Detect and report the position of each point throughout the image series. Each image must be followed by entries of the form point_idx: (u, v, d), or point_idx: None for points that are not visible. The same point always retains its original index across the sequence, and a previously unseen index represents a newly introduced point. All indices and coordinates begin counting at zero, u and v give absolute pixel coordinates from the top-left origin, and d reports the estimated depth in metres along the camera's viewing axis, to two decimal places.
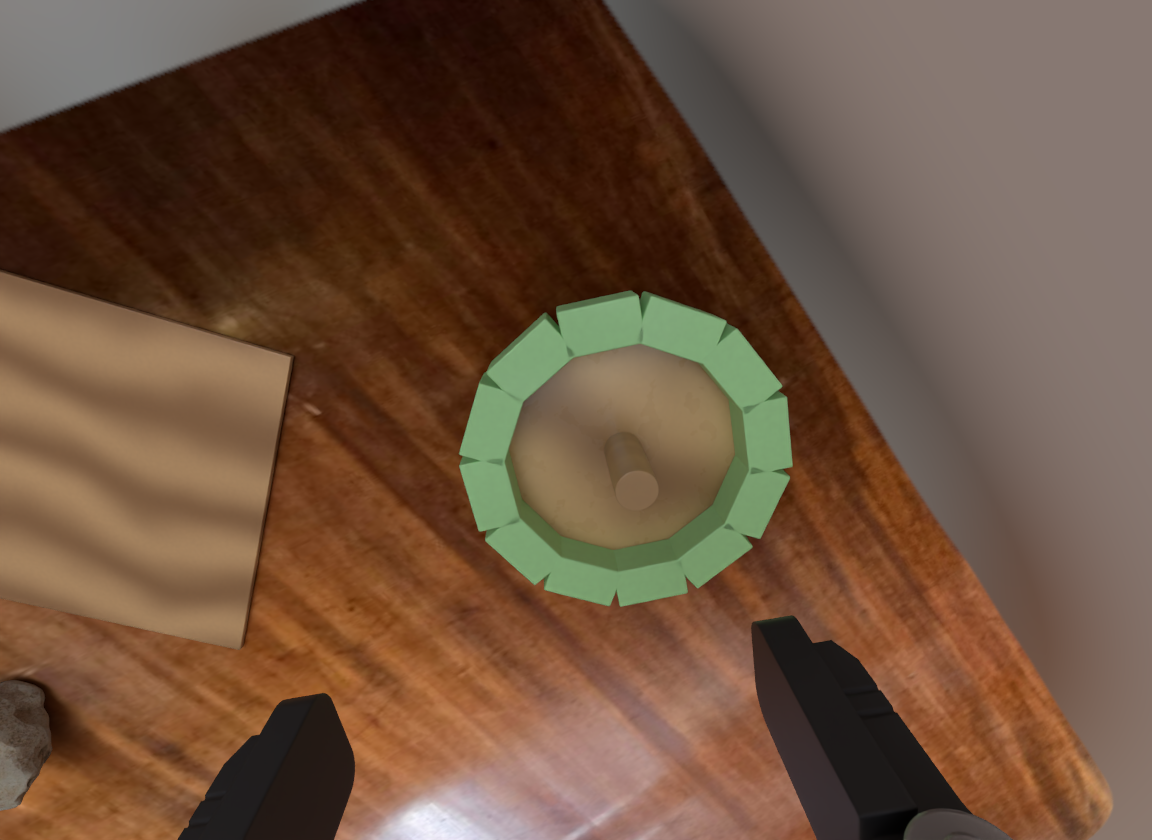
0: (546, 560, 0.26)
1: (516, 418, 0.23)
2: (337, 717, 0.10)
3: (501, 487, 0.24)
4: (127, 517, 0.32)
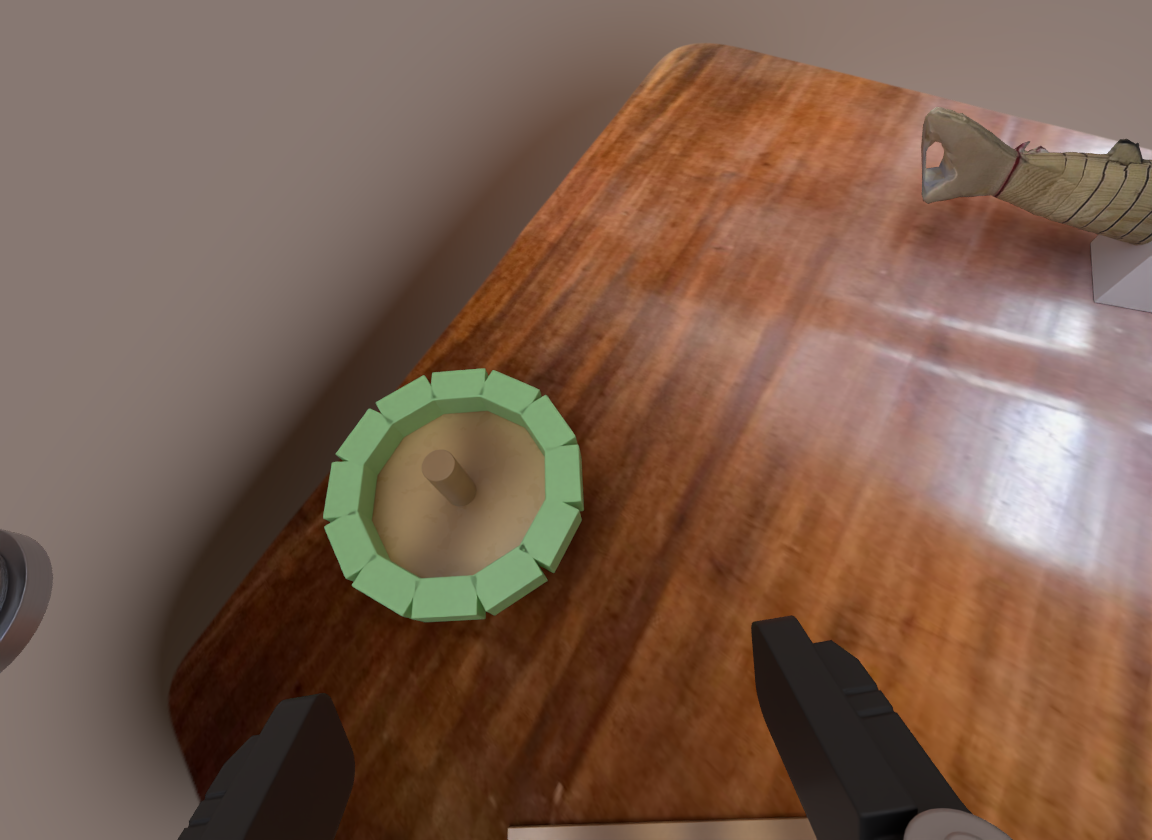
0: (552, 509, 0.30)
1: (433, 578, 0.29)
2: (337, 717, 0.10)
3: (496, 569, 0.29)
4: None
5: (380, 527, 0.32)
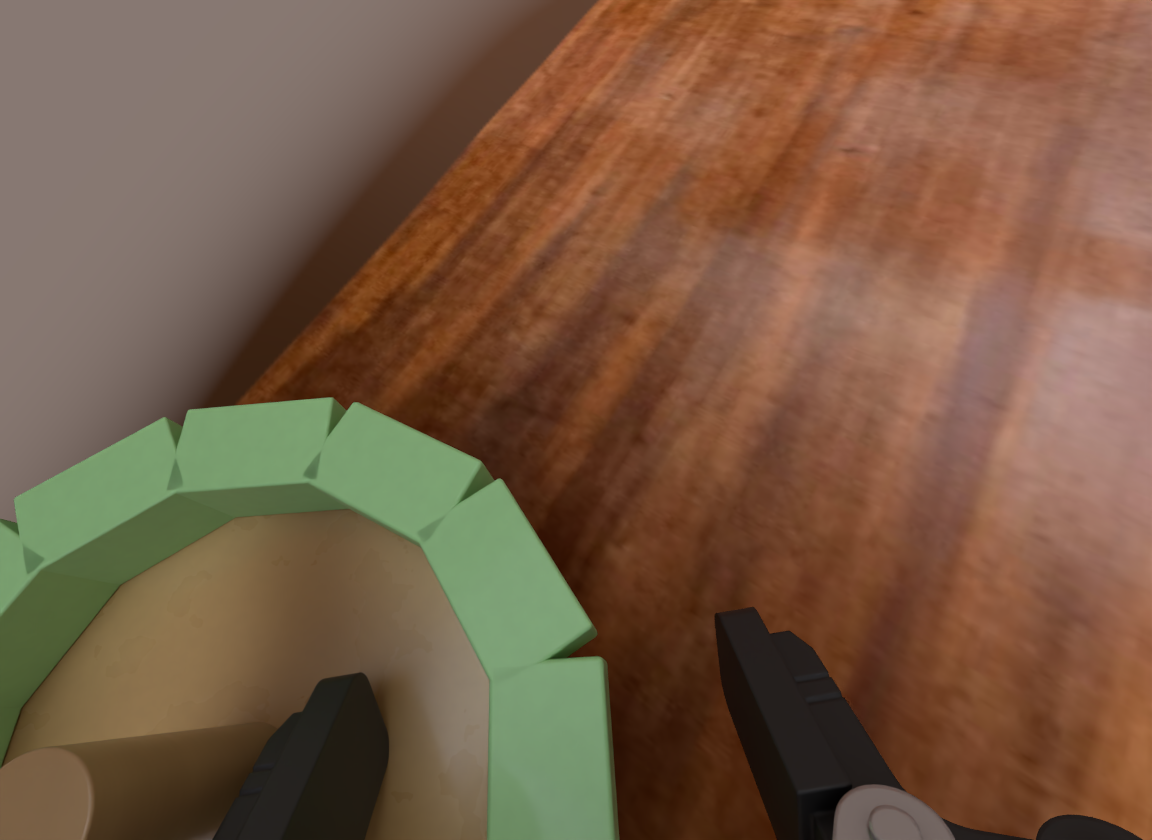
0: None
1: None
2: (373, 696, 0.11)
3: None
4: None
5: None
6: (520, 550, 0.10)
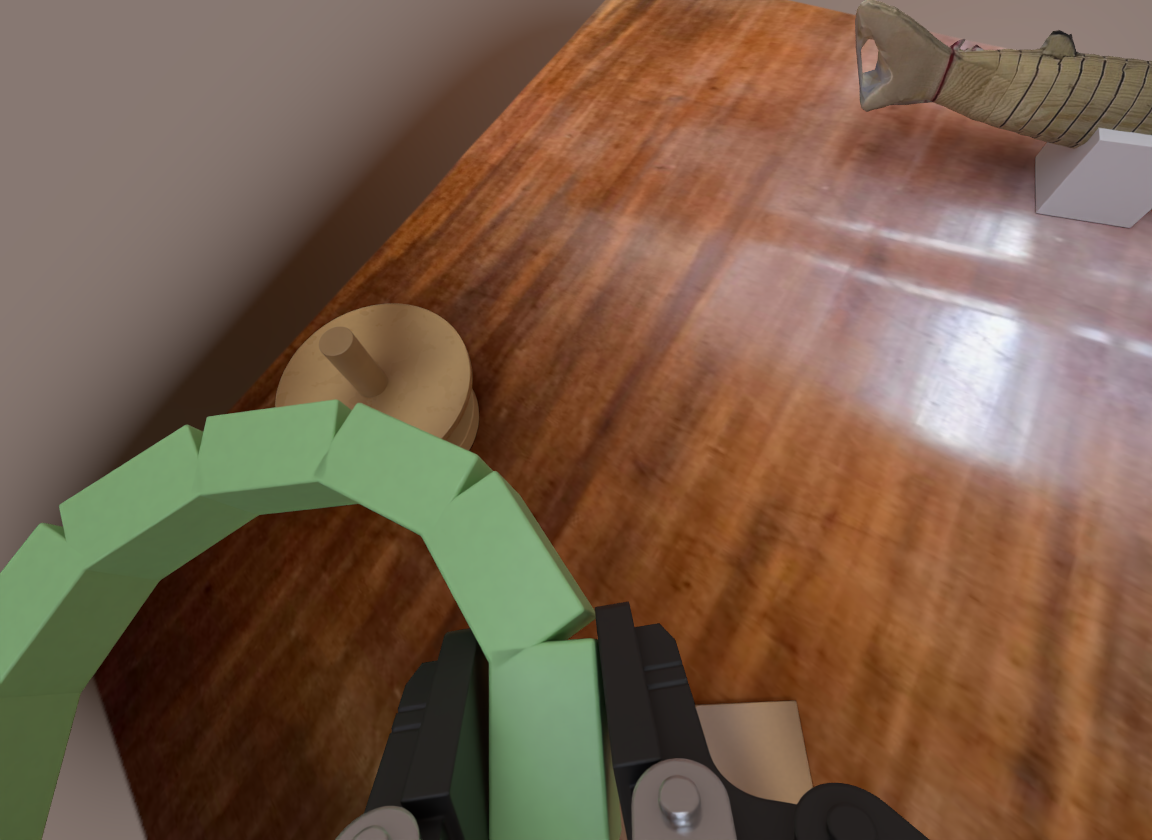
0: None
1: None
2: None
3: None
4: None
5: None
6: (515, 539, 0.11)
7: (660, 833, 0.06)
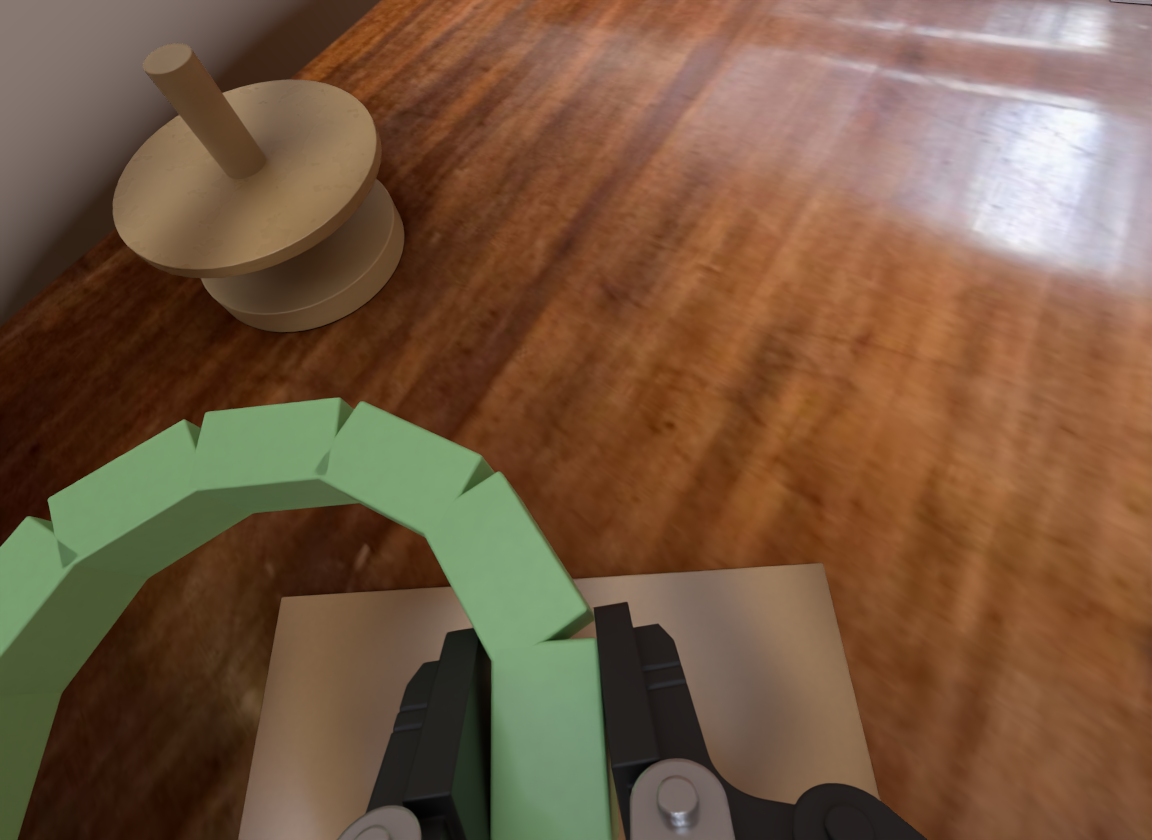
0: None
1: None
2: None
3: None
4: None
5: (128, 206, 0.23)
6: (519, 539, 0.11)
7: (658, 833, 0.06)
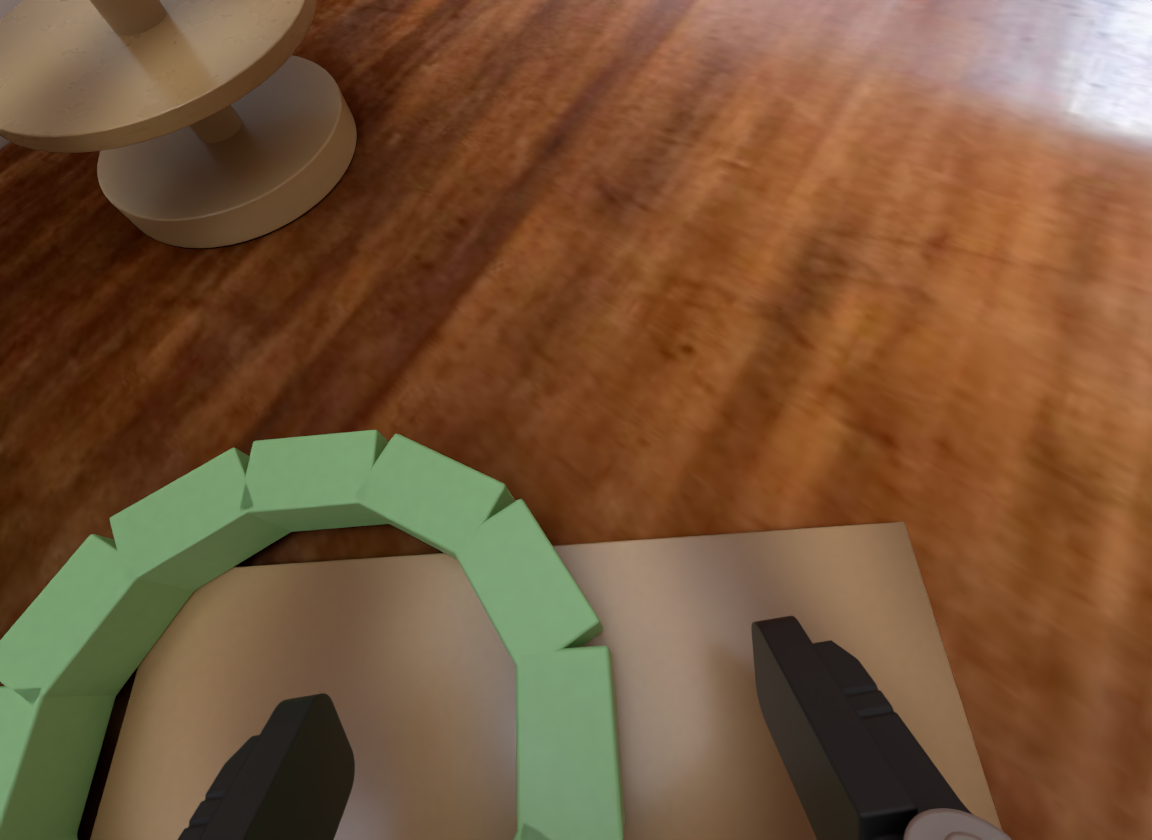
0: None
1: None
2: (337, 717, 0.10)
3: None
4: None
5: None
6: (539, 558, 0.12)
7: None
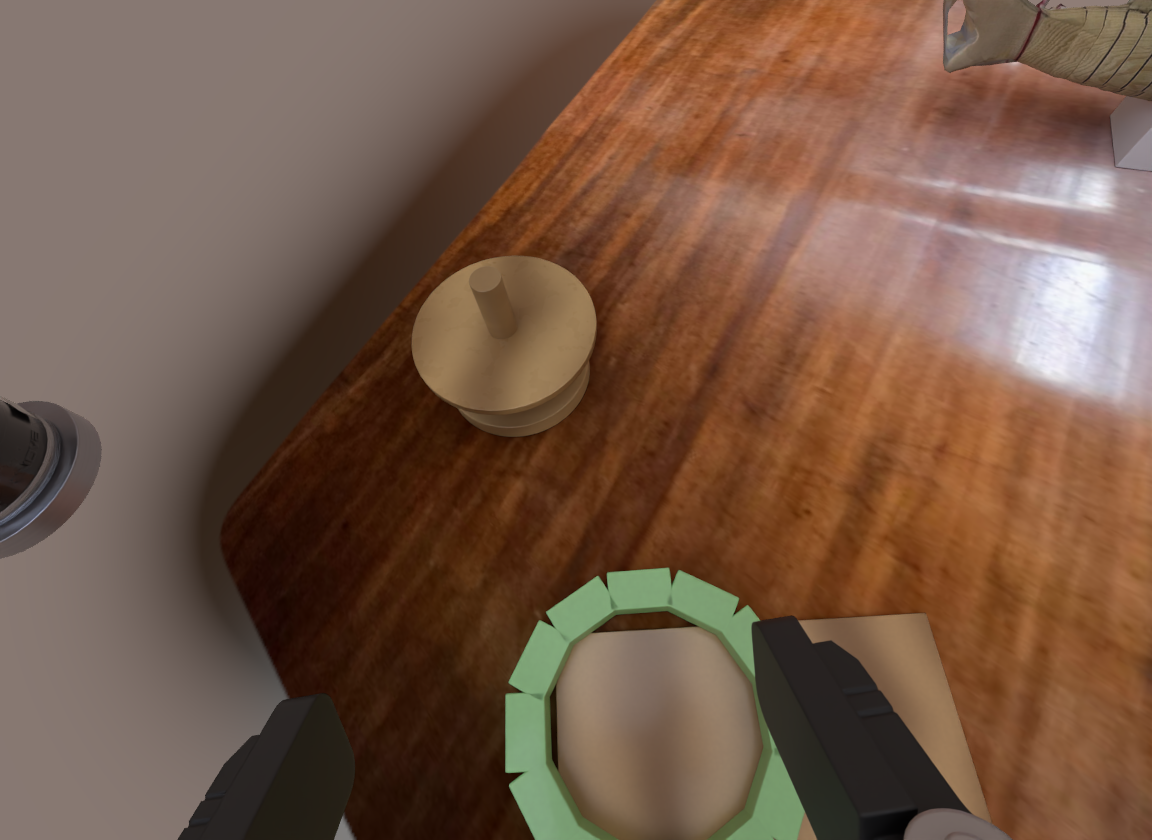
0: (783, 767, 0.25)
1: None
2: (337, 717, 0.10)
3: None
4: None
5: (425, 359, 0.33)
6: None
7: None
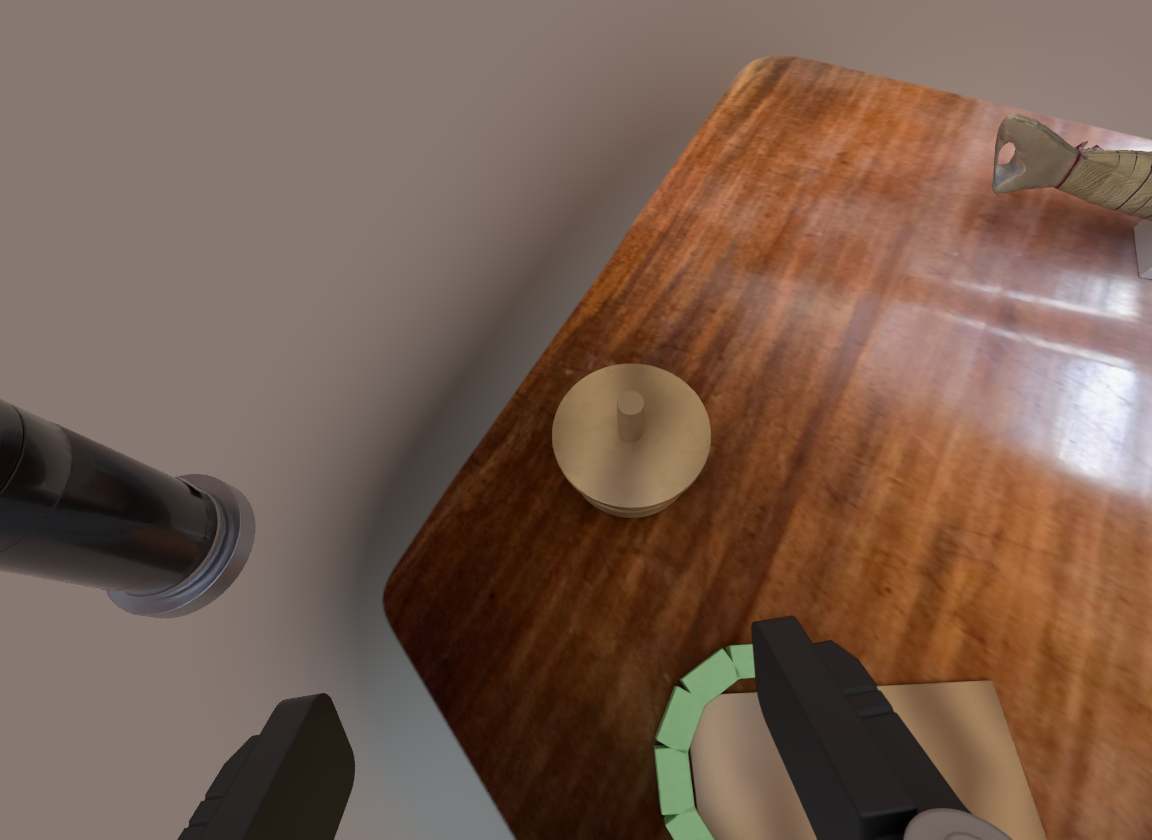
0: None
1: None
2: (337, 717, 0.10)
3: None
4: None
5: (567, 459, 0.39)
6: None
7: None
